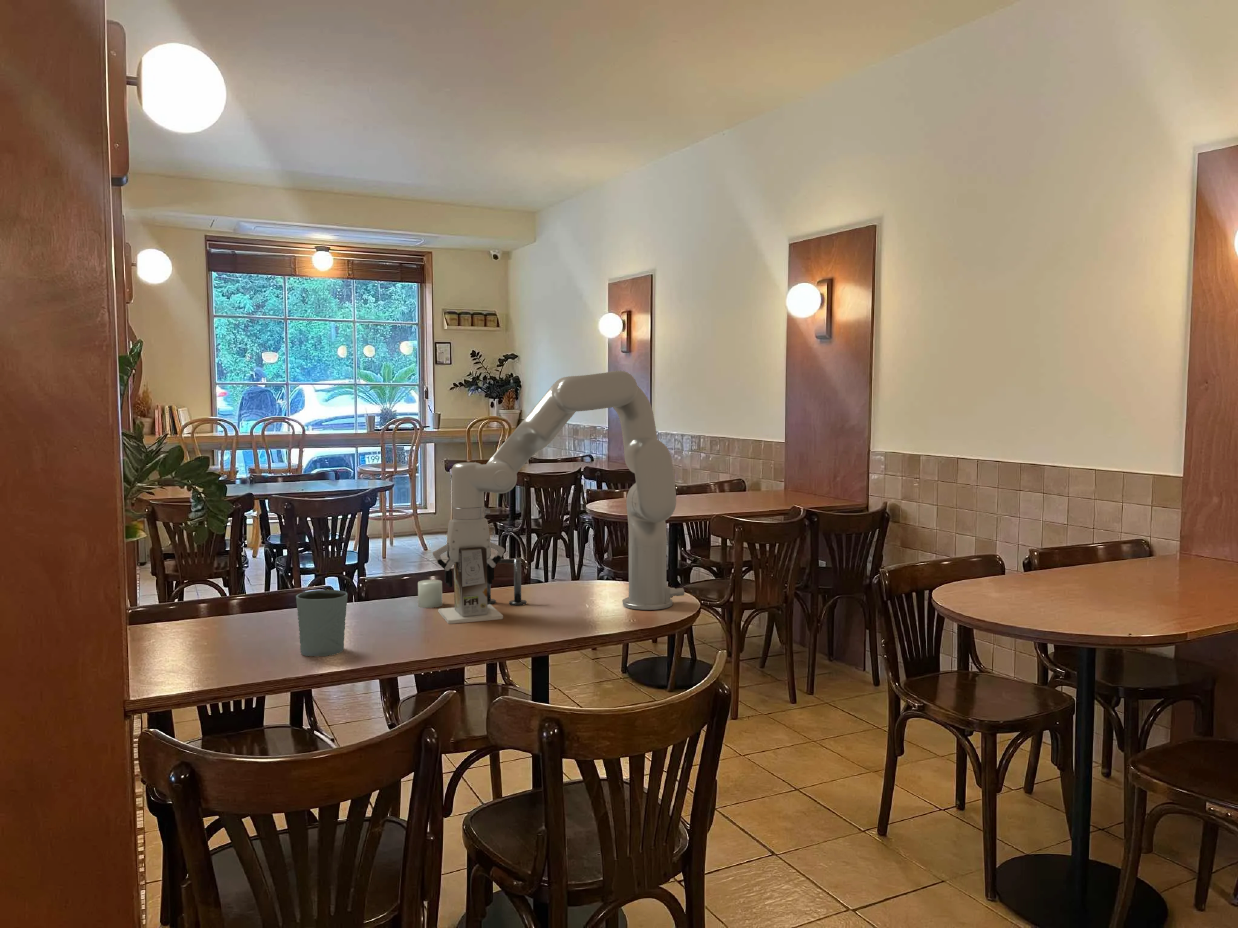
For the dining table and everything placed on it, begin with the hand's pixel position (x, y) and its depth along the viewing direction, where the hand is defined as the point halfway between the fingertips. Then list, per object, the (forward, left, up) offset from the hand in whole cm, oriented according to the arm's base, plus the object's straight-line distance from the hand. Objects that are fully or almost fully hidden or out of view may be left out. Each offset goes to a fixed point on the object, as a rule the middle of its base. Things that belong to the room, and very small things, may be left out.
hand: (469, 584), depth 222 cm
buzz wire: (-7, -10, -7) cm, 14 cm away
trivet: (0, 0, -7) cm, 7 cm away
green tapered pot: (+35, +20, -8) cm, 41 cm away
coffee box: (0, 0, -7) cm, 7 cm away
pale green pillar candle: (+7, -15, -8) cm, 18 cm away
